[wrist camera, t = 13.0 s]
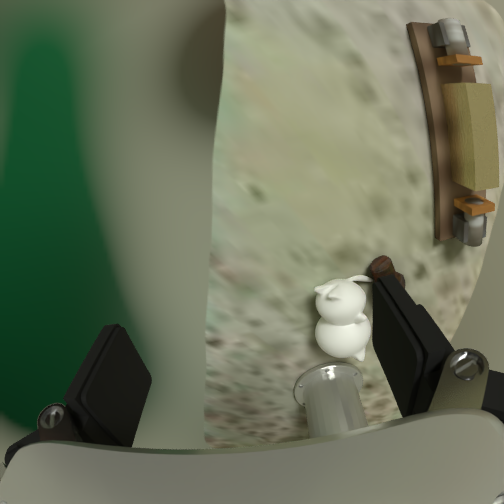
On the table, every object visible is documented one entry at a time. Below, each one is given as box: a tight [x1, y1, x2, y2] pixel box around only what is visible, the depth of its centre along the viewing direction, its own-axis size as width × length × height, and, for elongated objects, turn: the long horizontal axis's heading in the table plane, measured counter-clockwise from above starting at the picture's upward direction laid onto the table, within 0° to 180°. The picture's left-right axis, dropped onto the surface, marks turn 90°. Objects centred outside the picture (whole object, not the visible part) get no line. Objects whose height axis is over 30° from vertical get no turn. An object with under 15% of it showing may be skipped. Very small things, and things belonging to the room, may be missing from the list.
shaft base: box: [406, 18, 495, 247], centre depth 30 cm, size 30×9×6 cm, turn 13°
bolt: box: [369, 255, 405, 289], centre depth 41 cm, size 6×5×15 cm
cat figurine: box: [314, 275, 373, 362], centre depth 41 cm, size 9×11×12 cm
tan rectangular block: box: [441, 83, 499, 191], centre depth 29 cm, size 4×13×6 cm, turn 13°
